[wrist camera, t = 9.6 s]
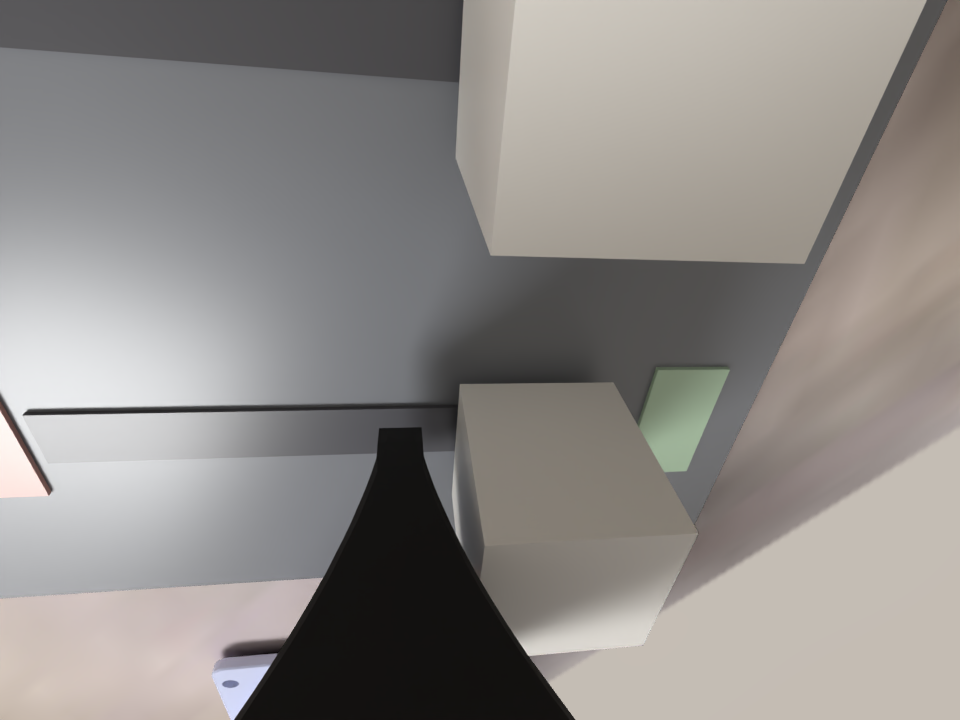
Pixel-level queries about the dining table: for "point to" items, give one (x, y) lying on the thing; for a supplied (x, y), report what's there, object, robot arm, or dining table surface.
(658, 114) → the cream cube box
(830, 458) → the dining table surface
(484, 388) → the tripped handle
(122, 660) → the dining table surface
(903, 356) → the dining table surface
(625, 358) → the board
